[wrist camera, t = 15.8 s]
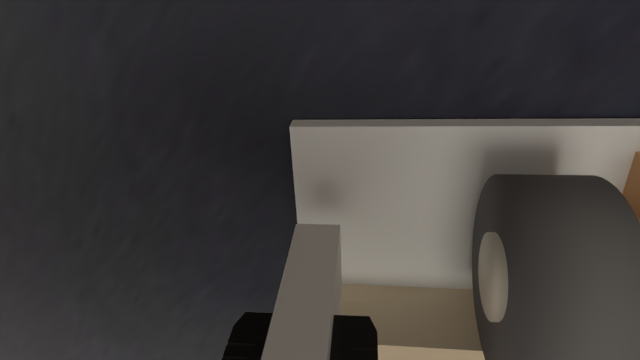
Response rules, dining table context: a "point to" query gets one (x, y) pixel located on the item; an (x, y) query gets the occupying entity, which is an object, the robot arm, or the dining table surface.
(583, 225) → the wheel
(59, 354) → the dining table surface
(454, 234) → the chassis
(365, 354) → the robot arm
